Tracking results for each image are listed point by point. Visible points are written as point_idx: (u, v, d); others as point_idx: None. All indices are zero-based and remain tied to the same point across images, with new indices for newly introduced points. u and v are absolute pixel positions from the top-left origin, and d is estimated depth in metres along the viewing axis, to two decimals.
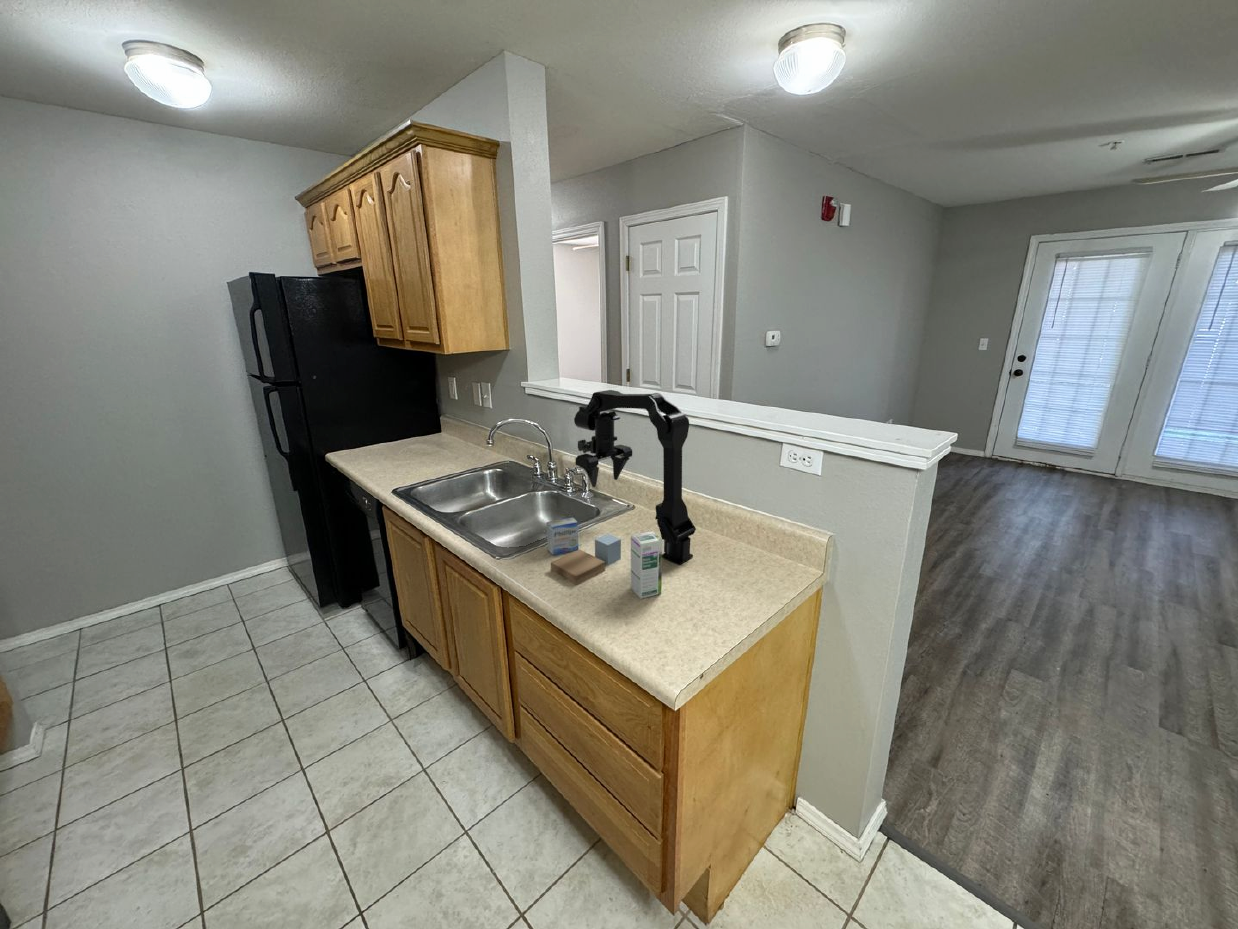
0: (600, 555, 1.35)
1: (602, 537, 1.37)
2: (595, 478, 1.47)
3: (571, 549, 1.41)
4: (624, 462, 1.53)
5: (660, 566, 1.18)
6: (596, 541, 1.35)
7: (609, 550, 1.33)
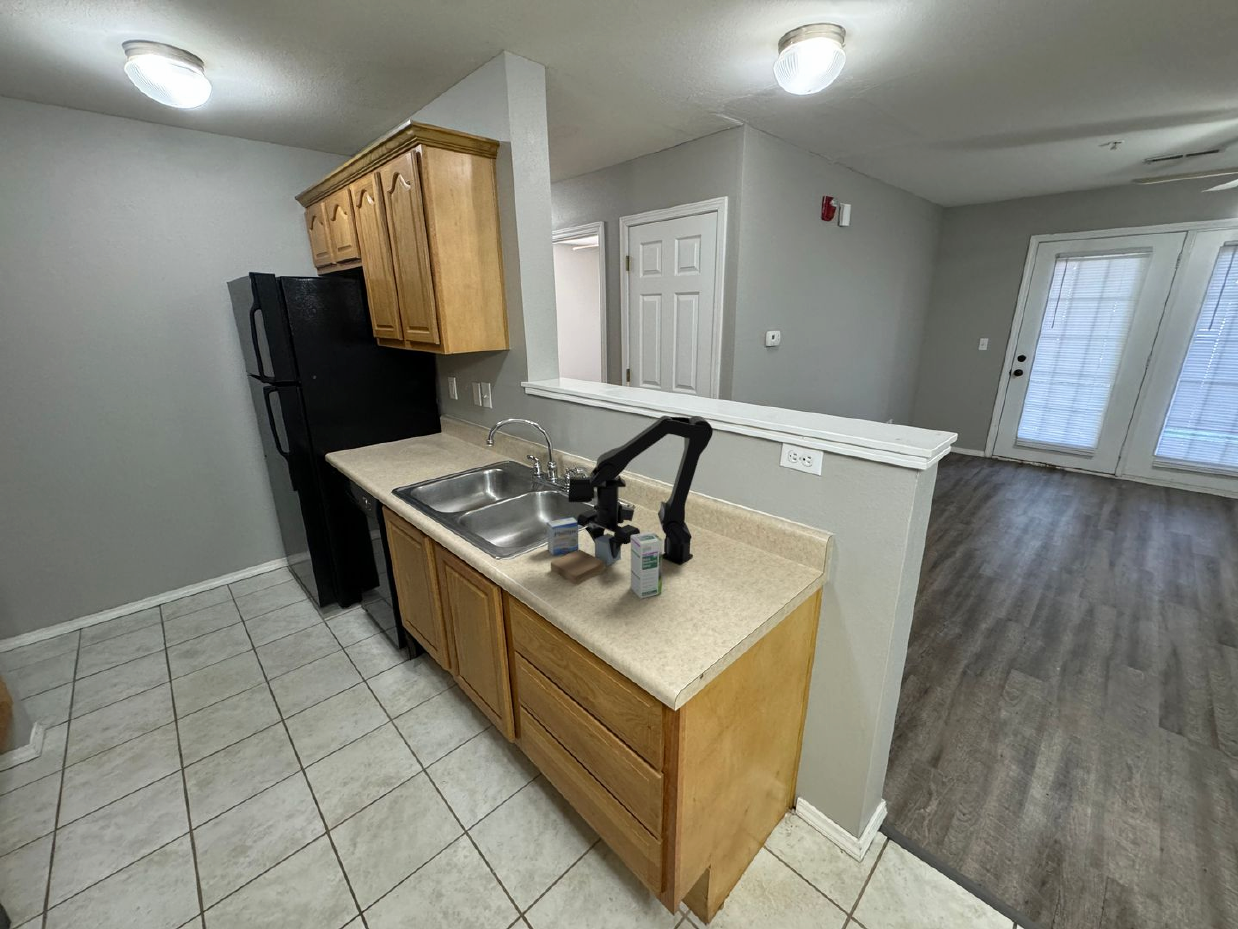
0: (600, 555, 1.35)
1: (602, 537, 1.37)
2: (594, 541, 1.37)
3: (571, 549, 1.41)
4: (611, 543, 1.31)
5: (661, 566, 1.18)
6: (596, 541, 1.35)
7: (609, 550, 1.33)
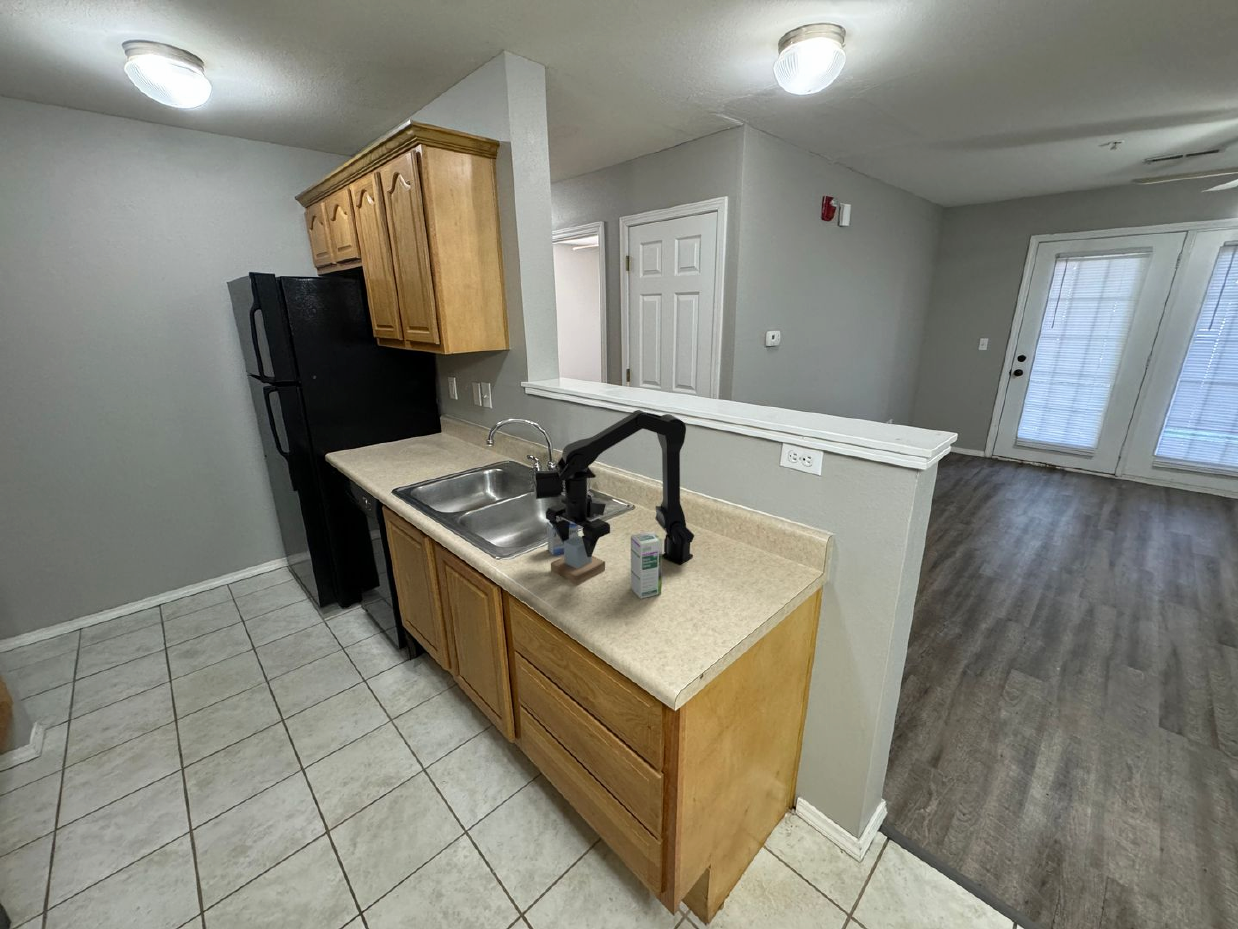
0: (570, 559, 1.28)
1: (572, 539, 1.30)
2: (559, 535, 1.31)
3: None
4: (584, 540, 1.22)
5: (660, 566, 1.18)
6: (565, 543, 1.28)
7: (578, 553, 1.26)
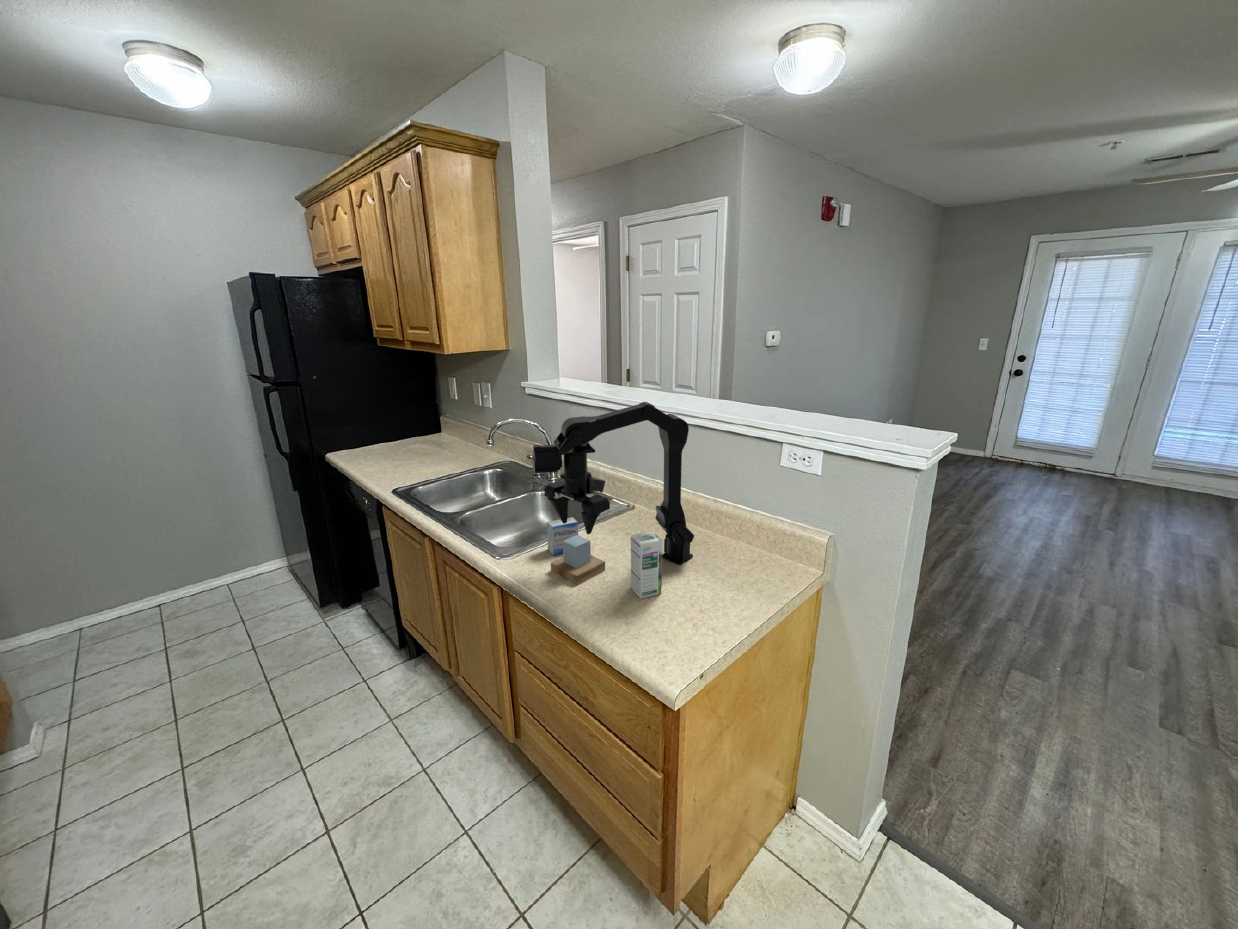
0: (569, 558, 1.29)
1: (571, 539, 1.30)
2: (557, 512, 1.29)
3: None
4: (584, 516, 1.20)
5: (661, 566, 1.18)
6: (564, 543, 1.29)
7: (577, 552, 1.27)
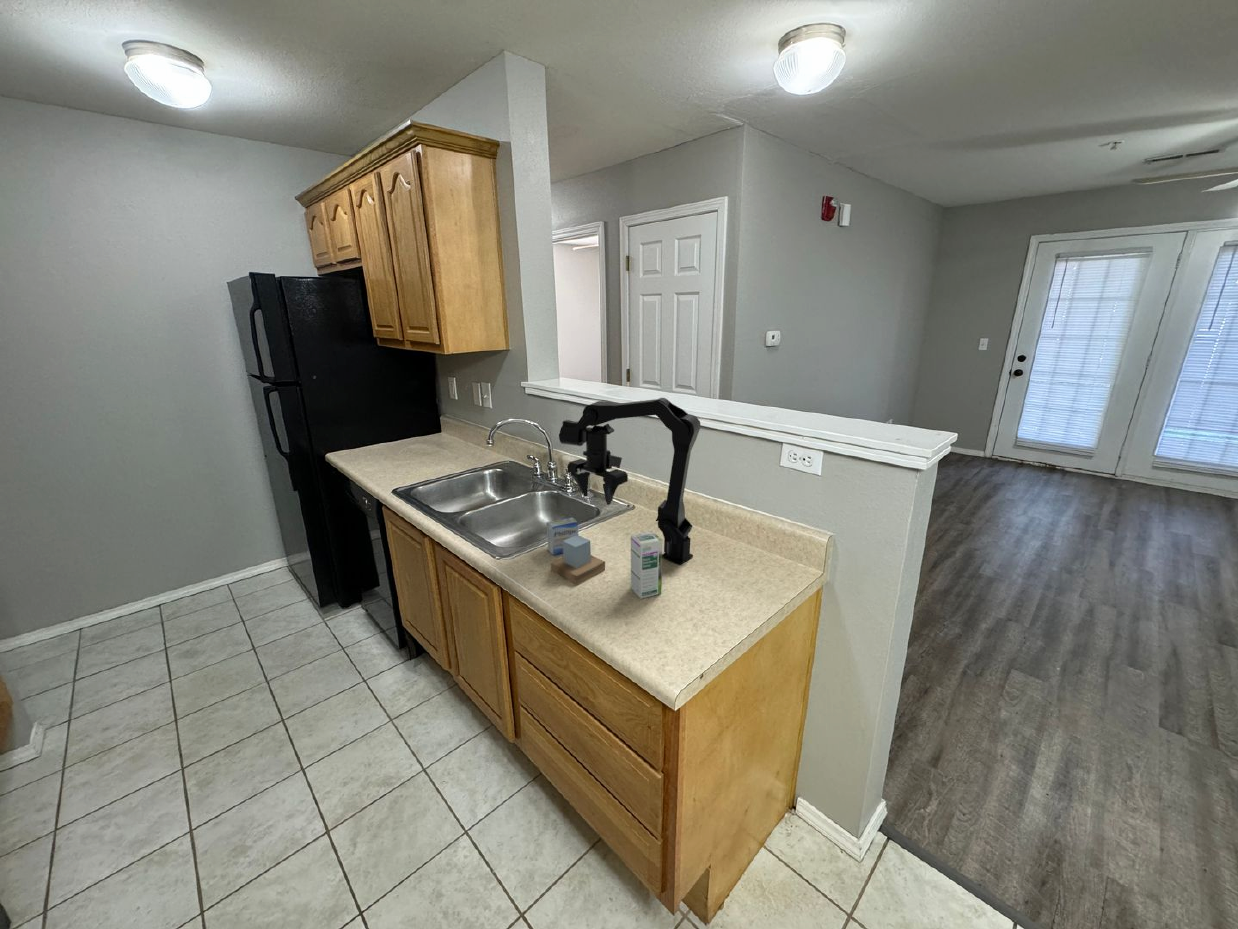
0: (569, 558, 1.29)
1: (571, 539, 1.30)
2: (579, 486, 1.45)
3: None
4: (605, 488, 1.36)
5: (660, 566, 1.18)
6: (564, 543, 1.29)
7: (577, 552, 1.27)
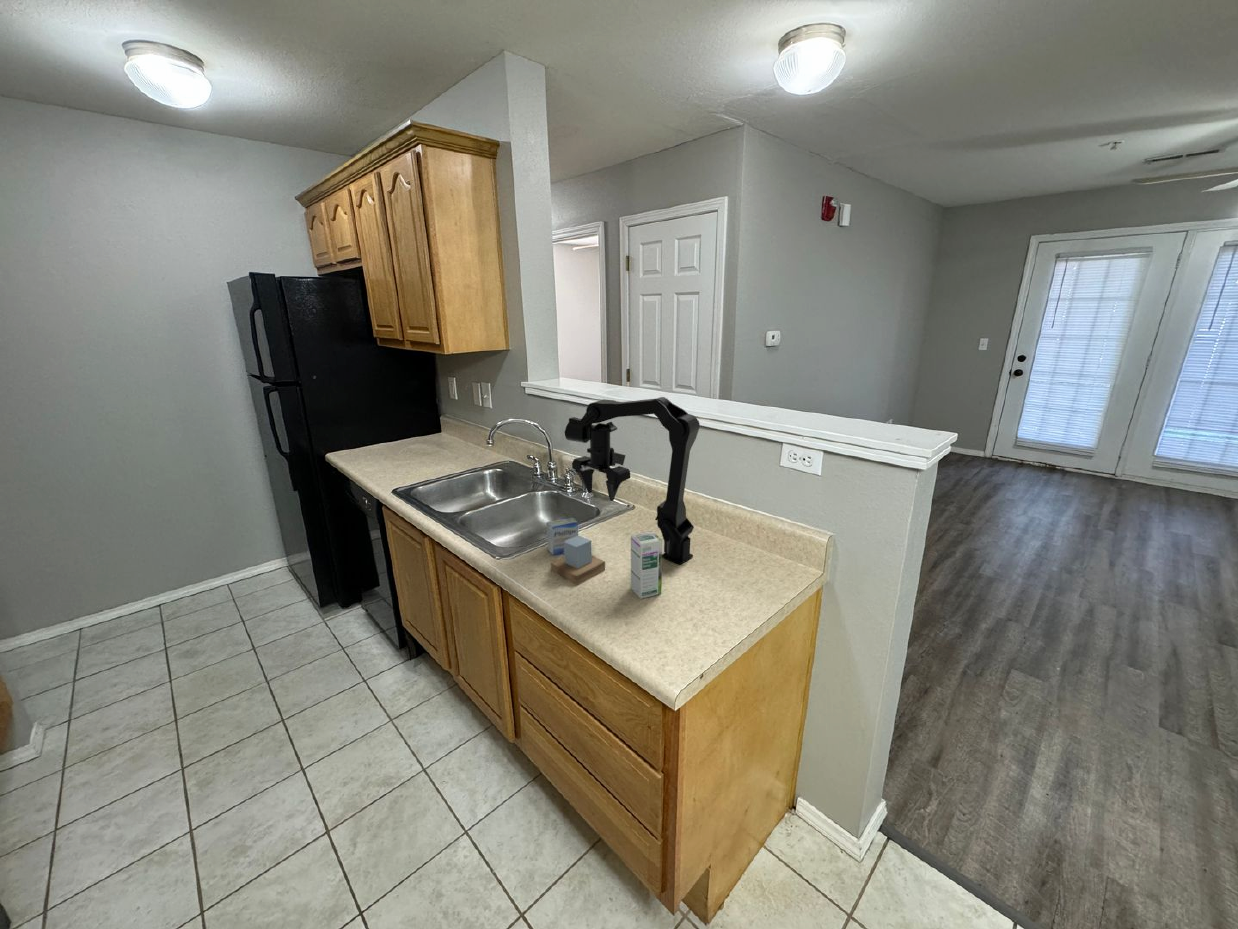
0: (570, 559, 1.28)
1: (571, 539, 1.30)
2: (583, 483, 1.48)
3: None
4: (608, 484, 1.39)
5: (660, 566, 1.18)
6: (565, 543, 1.28)
7: (578, 552, 1.26)
